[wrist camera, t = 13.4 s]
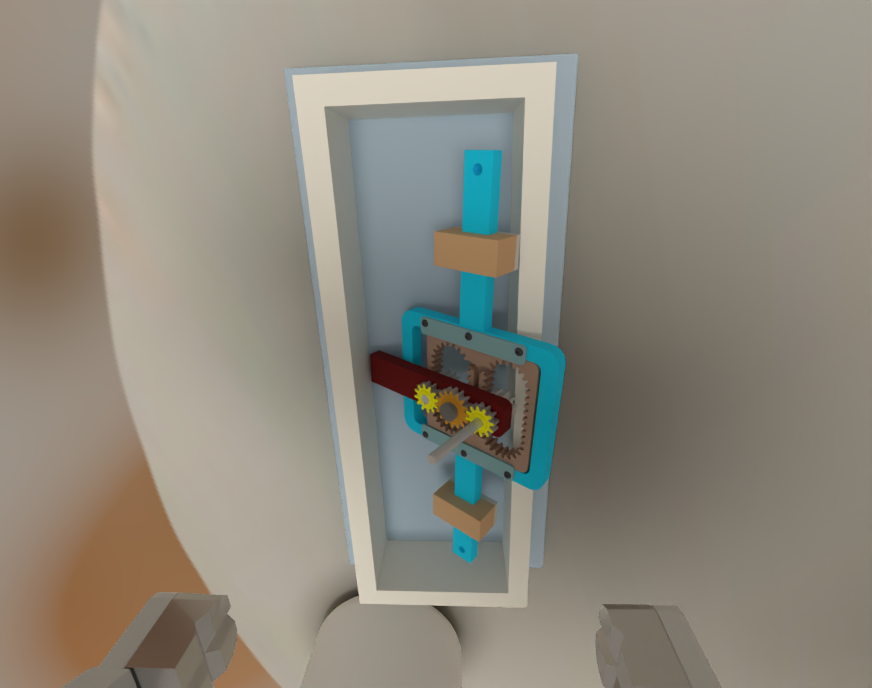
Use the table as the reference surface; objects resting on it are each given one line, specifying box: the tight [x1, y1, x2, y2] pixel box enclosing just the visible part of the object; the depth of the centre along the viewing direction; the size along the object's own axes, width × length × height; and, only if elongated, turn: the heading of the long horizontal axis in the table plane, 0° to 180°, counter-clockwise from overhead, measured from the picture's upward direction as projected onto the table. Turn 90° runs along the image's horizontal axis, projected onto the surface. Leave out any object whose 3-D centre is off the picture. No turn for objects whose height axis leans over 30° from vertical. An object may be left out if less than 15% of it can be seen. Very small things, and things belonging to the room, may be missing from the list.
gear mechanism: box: [370, 150, 566, 563], centre depth 19 cm, size 20×5×9 cm
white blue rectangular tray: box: [284, 53, 578, 608], centre depth 21 cm, size 27×12×4 cm, turn 2°
